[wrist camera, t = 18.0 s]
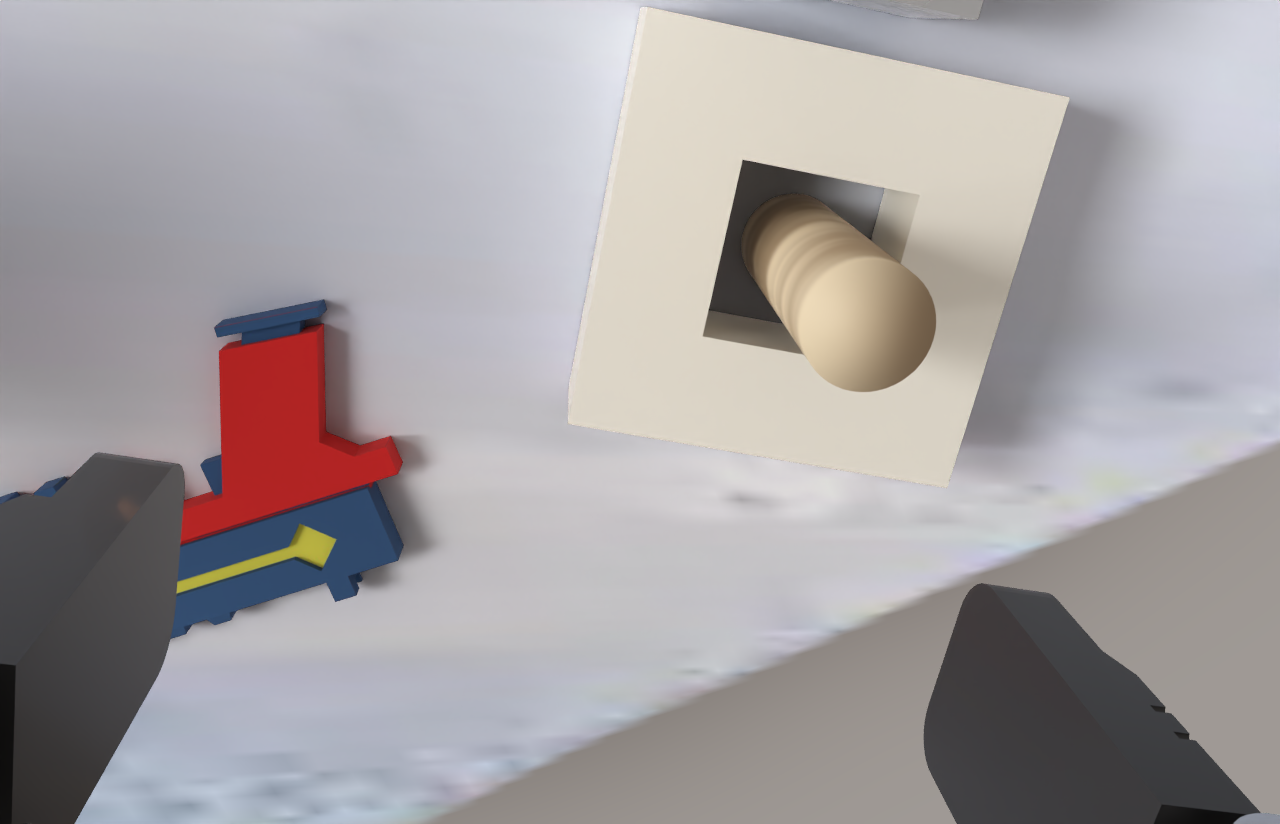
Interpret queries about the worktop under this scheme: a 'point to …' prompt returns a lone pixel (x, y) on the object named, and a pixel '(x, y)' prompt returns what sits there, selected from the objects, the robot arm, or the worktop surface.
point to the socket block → (819, 144)
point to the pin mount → (923, 8)
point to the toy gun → (278, 481)
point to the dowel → (838, 294)
